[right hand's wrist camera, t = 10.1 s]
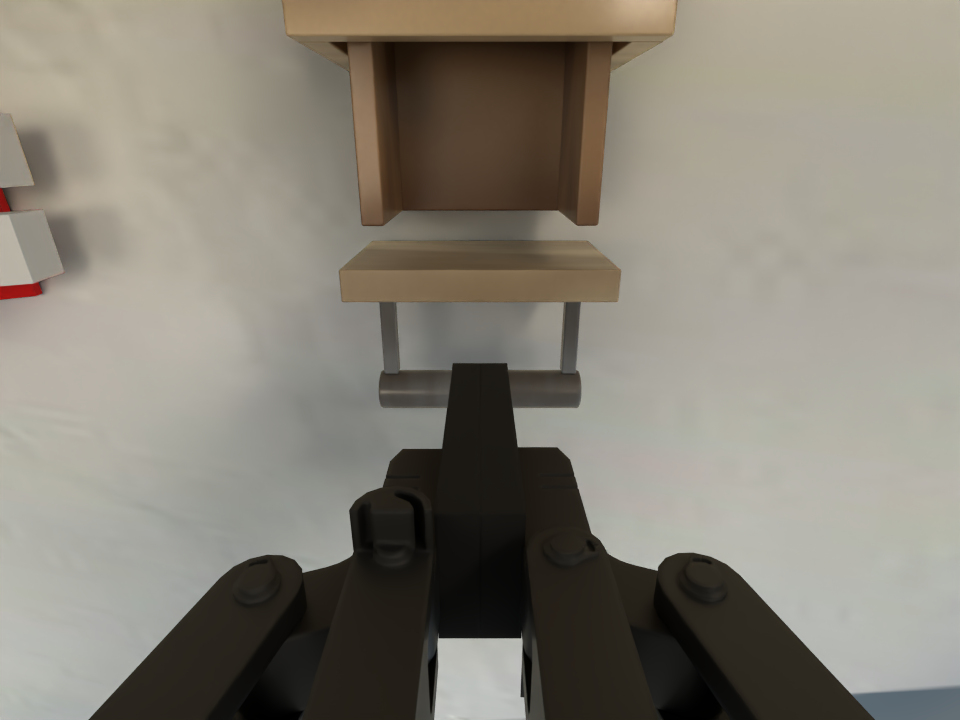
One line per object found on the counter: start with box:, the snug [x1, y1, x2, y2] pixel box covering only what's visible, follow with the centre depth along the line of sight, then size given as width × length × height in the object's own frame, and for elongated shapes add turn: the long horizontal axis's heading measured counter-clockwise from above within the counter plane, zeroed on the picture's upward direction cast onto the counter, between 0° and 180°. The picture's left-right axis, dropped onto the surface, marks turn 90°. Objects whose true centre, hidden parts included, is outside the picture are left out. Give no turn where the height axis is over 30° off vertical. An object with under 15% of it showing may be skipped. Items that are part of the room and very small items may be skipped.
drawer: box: [339, 41, 621, 408], centre depth 20 cm, size 24×10×6 cm, turn 0°
